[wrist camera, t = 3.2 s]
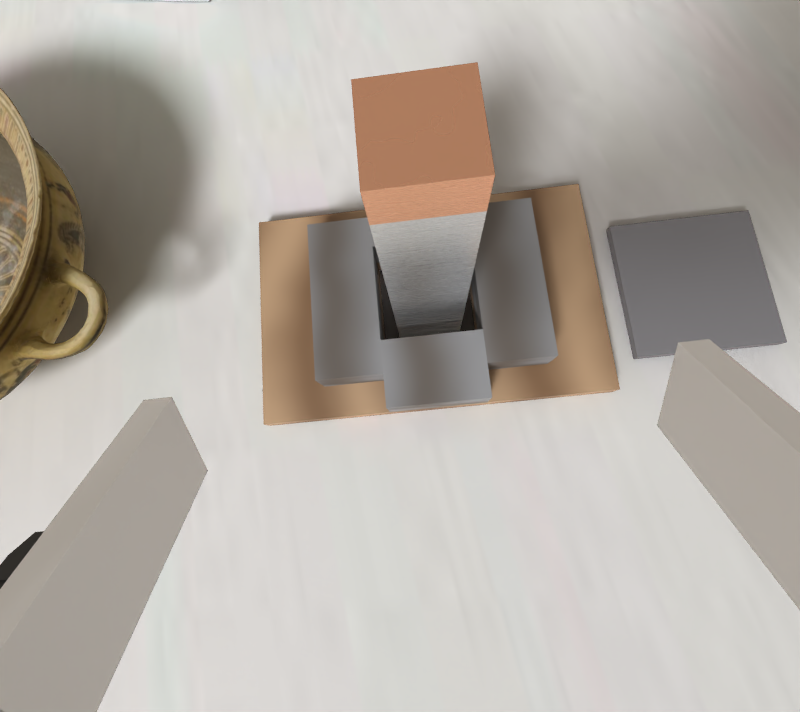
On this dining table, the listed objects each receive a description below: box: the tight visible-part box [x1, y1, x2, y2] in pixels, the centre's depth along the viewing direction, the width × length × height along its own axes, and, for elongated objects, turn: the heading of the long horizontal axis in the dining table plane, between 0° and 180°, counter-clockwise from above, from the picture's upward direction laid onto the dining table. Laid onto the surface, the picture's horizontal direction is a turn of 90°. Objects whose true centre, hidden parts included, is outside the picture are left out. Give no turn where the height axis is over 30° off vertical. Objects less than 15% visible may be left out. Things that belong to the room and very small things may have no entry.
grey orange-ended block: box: [351, 62, 495, 337], centre depth 22 cm, size 4×4×17 cm
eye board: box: [259, 184, 620, 426], centre depth 28 cm, size 22×14×4 cm, turn 95°
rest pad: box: [607, 210, 787, 359], centre depth 29 cm, size 9×9×1 cm
